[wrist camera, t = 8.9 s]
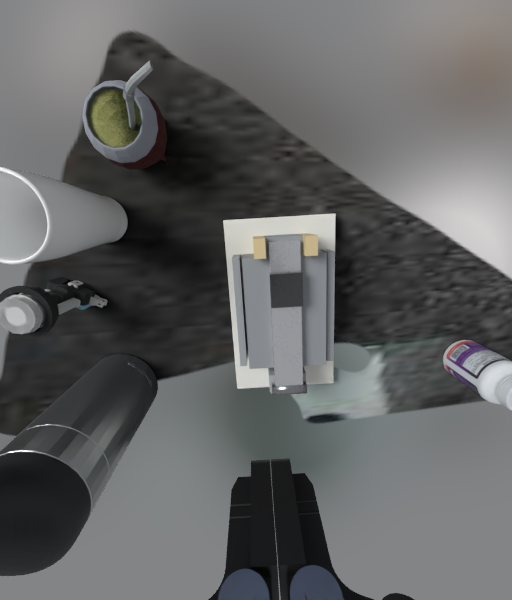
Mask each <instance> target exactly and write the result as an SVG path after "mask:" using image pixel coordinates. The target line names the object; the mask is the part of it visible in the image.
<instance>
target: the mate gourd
mask: <svg viewBox="0 0 512 600" xmlns="http://www.w3.org/2000/svg"><path fill="white" fill-rule="evenodd" d="M152 70H153V67H152V64H151V61H150V60H149V61H148V62H147V63H146V64H145V65H144V66H143V67H142V68H140V69H139V70H138V71H137V72H136V73H135V74H134V75H133V76H131V78H130V79H129V80H128V82H124V81H121V80H116V81H105V82H103V83H101V84H100V85H98V86H97V87H95V88H93V89H92V90H91V92H90V93H89V95H88V97H87V98H86V100H85V102H84V109H83V115H82V116H83V122H84V126H85V131H86V134H87V136H88V138H89V139H90V141H91V143H92V144H93V146H94V148H95V149H97V150H98V152H100V153H101V154H102V155H103V156H104V157H105V158H107V159H108V160H109V161H110V162H112V163H113V164H115V165H118V166H121V167H124V168H127V169H144V168H147V167H149V166H151V165H153V164H155V163H157V162H158V161H159V160H161V161H162V162H164V163H165V164H166V165H167V164H168V163H169V162H170V158H169V157H168V156H167V155H165V154H164V153H165V149H166V143H167V132H166V125H165V120H164V118H163V116H162V114H161V112H160V110H159V108H158V106H157V104H156V103H155V102H154V101H153V100H152V99H151V98H150V97H149V96H148V95H147V94H146V93H144V92H143V91H142V90H141V89H140V88H137V86H138V84H139V83H140V82H141V81H142V80H143V79H144V78H145V77H146V76H147V75H148V74H149V73H150V72H151V71H152Z"/></svg>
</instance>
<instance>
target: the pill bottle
mask: <svg viewBox="0 0 512 600" xmlns="http://www.w3.org/2000/svg"><path fill="white" fill-rule="evenodd" d="M443 364H444V367H445V369H446V370H447V371H448V372H449V373H450V374H452V375H453V376H454V377H456V378H457V379H458V380H460V381H461V382H462V383H464V384H465V385H466V386H468V387H469V388H470V389H472V390H473V391H474V392H476V393H477V394H478V395H480V396H481V397H482V398H484V399H485V400H487V401H489V402H491V403H495V404H502V405H503V406H505V407H507V408H508V409H509V410H511V411H512V361H511V360H509V359H507V358H505V357H503V356H501V355H499V354H497V353H495V352H493V351H491V350H489V349H488V348H486V347H484V346H482V345H480V344H478V343H476V342H474V341H471V340H460V341H457V342H455V343H453V344H452V345H450V346H449V347H448V348H447V350H446V351H445V353H444V356H443Z"/></svg>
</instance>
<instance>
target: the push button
mask: <svg viewBox="0 0 512 600" xmlns="http://www.w3.org/2000/svg"><path fill="white" fill-rule="evenodd" d="M75 282H78V283H75ZM82 284H83V283H82V282H79V281H72V282H68V279H66V278H62V277H60V278H57V279H53V280H50V281H48V285H47V289H46V290H43V289H41V288H39V287H27V286H16V287H12V288H9V289H7V290H5V291H3V292H2V293H1V294H0V324H1V325H2V326H3V327H4V328H5V329H6V330H8V331H9V332H10V333H12V334H13V335H15V336H18V337H21V338H26V339H33V338H38V337H40V336H42V335H44V334H46V333H47V332H48V331H49V330H50V329H51V328H52V327H53V326H54V324H55V322H56V320H57V318H58V316H59V315H60V314H62V313H64V312H66V311H68V310H70V309H72V308H74V307H75V308H78V309H81V310H84V309H86V308H88V307H90V306H94V305H95V306H98V307H101V308H102V307H103V305H105V306H106V305H107V300H106V299H103V298H100V296H97V295H96V292H95V291H92V290H89V289H87V288H84V287H81V286H79V285H82ZM19 293H25V294H21V295H18V294H19ZM102 300H104V302H103V301H102ZM98 303H99V304H101V305H98ZM43 324H44V326H43V327H42V328H39V327H40V326H41V325H43Z"/></svg>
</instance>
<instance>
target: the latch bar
mask: <svg viewBox="0 0 512 600" xmlns="http://www.w3.org/2000/svg"><path fill="white" fill-rule="evenodd" d="M268 244H269V266H270V274H269V278H270V299H271V309H272V331H273V352H274V374H275V383H272V395H283V394H301V393H307V385H306V381H303V361H302V307H301V306H303V272H301V254H300V240H294V241H278V242H268Z"/></svg>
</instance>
